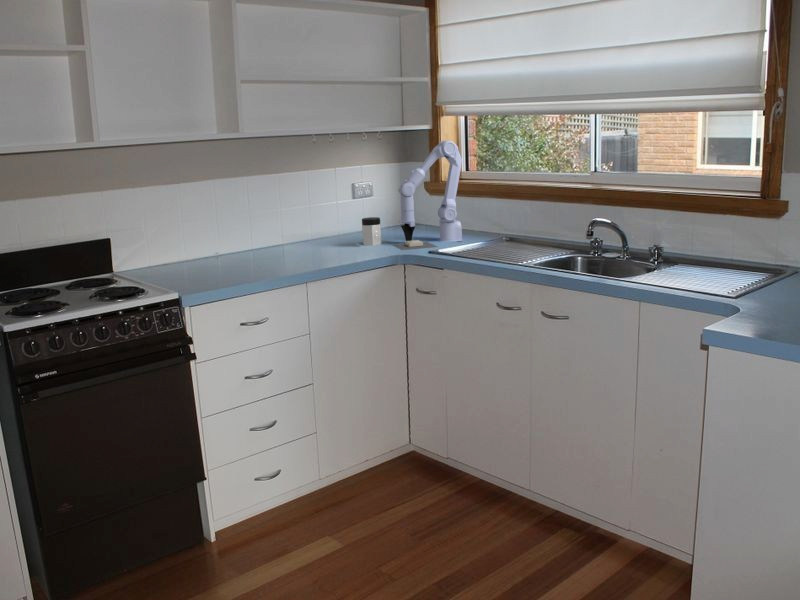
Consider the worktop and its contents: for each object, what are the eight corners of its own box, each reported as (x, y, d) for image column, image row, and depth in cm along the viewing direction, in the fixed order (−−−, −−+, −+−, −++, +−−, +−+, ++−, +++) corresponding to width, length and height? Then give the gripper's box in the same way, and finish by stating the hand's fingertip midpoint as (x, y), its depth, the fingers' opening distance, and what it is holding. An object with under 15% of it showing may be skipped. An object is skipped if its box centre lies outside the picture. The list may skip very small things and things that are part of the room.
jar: (369, 247, 353) (367, 220, 350) (358, 245, 359) (357, 218, 357) (385, 244, 358) (384, 217, 355) (375, 243, 364) (374, 216, 362)
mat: (426, 243, 357) (426, 241, 357) (438, 248, 342) (438, 246, 342) (392, 246, 353) (392, 244, 353) (402, 251, 338) (402, 250, 338)
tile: (418, 240, 352) (423, 242, 345) (418, 243, 352) (423, 246, 346) (405, 241, 350) (409, 243, 344) (405, 245, 351) (409, 247, 344)
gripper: (394, 209, 358) (395, 239, 361) (403, 212, 345) (404, 244, 348) (409, 208, 360) (410, 238, 363) (419, 211, 346) (420, 242, 349)
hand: (408, 241), depth 355 cm, fingers closed
